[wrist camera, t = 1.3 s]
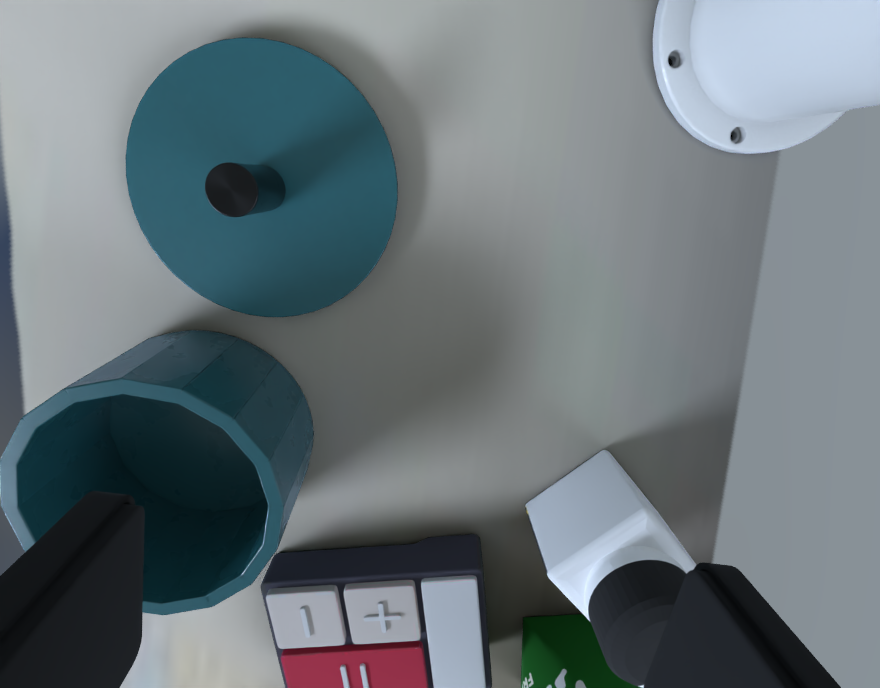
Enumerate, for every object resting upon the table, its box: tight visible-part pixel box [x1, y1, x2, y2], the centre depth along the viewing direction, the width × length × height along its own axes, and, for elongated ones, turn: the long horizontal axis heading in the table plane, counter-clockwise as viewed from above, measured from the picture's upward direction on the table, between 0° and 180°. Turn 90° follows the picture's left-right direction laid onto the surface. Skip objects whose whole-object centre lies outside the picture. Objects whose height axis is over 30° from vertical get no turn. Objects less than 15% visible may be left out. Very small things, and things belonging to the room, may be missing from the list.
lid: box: [126, 38, 398, 317], centre depth 26 cm, size 15×15×6 cm
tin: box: [0, 330, 314, 615], centre depth 30 cm, size 14×14×8 cm
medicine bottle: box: [525, 450, 696, 688], centre depth 31 cm, size 7×7×12 cm
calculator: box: [261, 534, 492, 688], centre depth 37 cm, size 11×4×15 cm
